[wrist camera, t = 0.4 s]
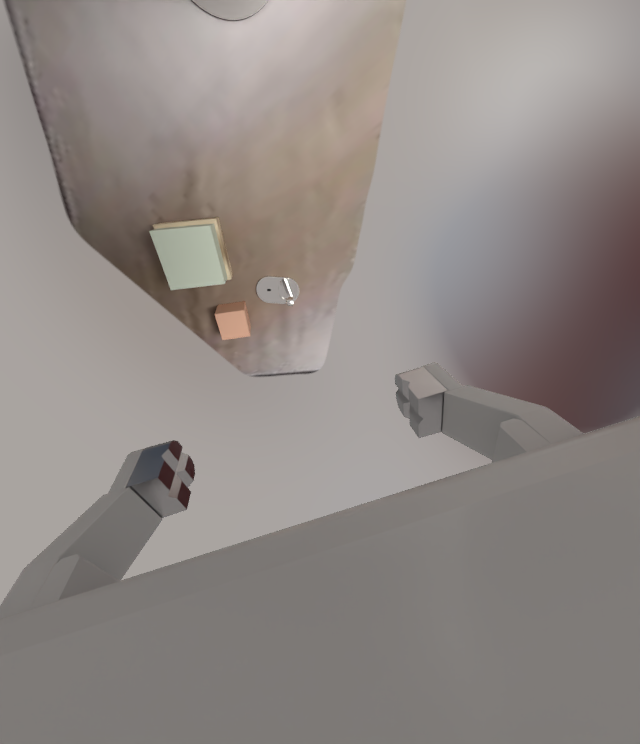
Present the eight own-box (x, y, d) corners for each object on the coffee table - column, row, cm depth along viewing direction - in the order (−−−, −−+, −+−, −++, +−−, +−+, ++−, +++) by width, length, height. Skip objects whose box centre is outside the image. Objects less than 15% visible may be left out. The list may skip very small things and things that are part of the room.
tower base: (160, 222, 43) (152, 224, 40) (218, 216, 44) (215, 218, 41) (180, 280, 48) (175, 286, 45) (232, 274, 49) (231, 279, 46)
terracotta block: (217, 304, 51) (214, 314, 47) (244, 301, 52) (243, 310, 48) (225, 329, 54) (222, 340, 50) (250, 325, 55) (250, 336, 50)
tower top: (158, 228, 40) (149, 231, 37) (214, 223, 41) (210, 225, 38) (177, 283, 45) (170, 290, 41) (227, 277, 46) (225, 283, 42)
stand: (256, 274, 50) (299, 278, 51) (256, 301, 52) (297, 303, 54) (256, 286, 43) (305, 289, 45) (256, 315, 46) (303, 317, 48)
